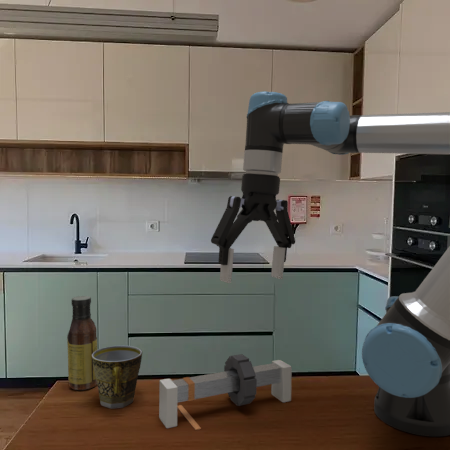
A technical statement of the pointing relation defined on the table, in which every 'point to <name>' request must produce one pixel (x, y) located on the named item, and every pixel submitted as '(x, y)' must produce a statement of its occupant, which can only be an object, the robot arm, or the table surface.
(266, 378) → the light grey bar
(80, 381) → the sauce bottle
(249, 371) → the ring
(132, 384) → the ceramic cup
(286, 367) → the stand
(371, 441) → the table surface
